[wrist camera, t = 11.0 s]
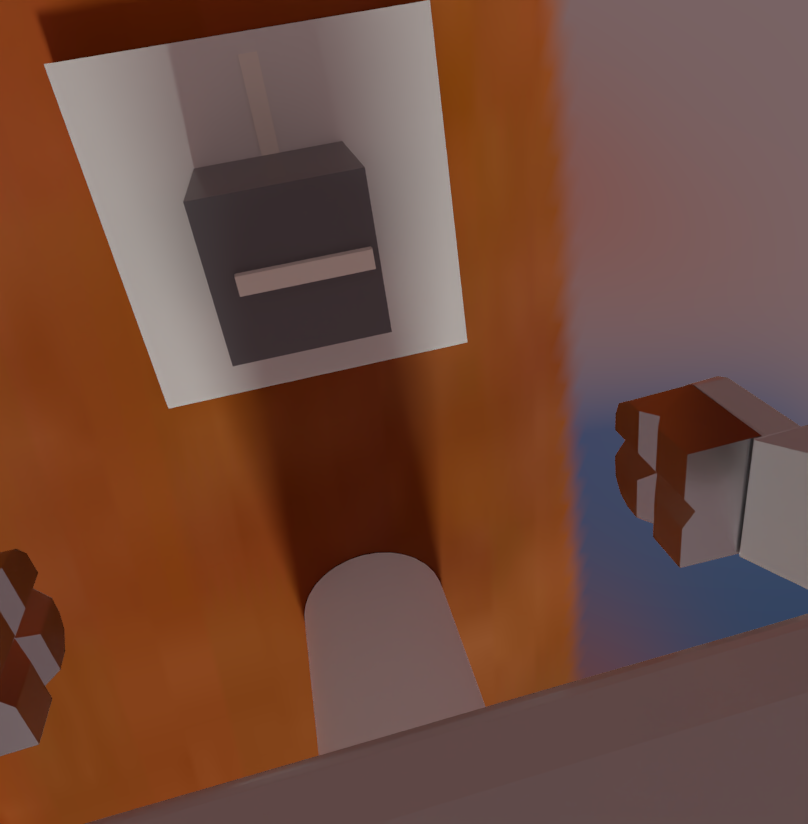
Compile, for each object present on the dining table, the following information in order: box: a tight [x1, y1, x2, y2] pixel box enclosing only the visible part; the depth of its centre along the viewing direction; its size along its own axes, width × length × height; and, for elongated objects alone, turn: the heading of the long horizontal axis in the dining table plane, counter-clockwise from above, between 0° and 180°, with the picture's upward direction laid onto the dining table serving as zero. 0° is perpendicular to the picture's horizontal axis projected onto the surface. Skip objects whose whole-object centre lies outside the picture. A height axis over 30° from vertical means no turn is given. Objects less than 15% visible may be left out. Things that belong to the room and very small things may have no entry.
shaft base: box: [44, 0, 467, 408], centre depth 23 cm, size 12×12×5 cm
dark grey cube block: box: [183, 141, 392, 366], centre depth 22 cm, size 5×5×5 cm
